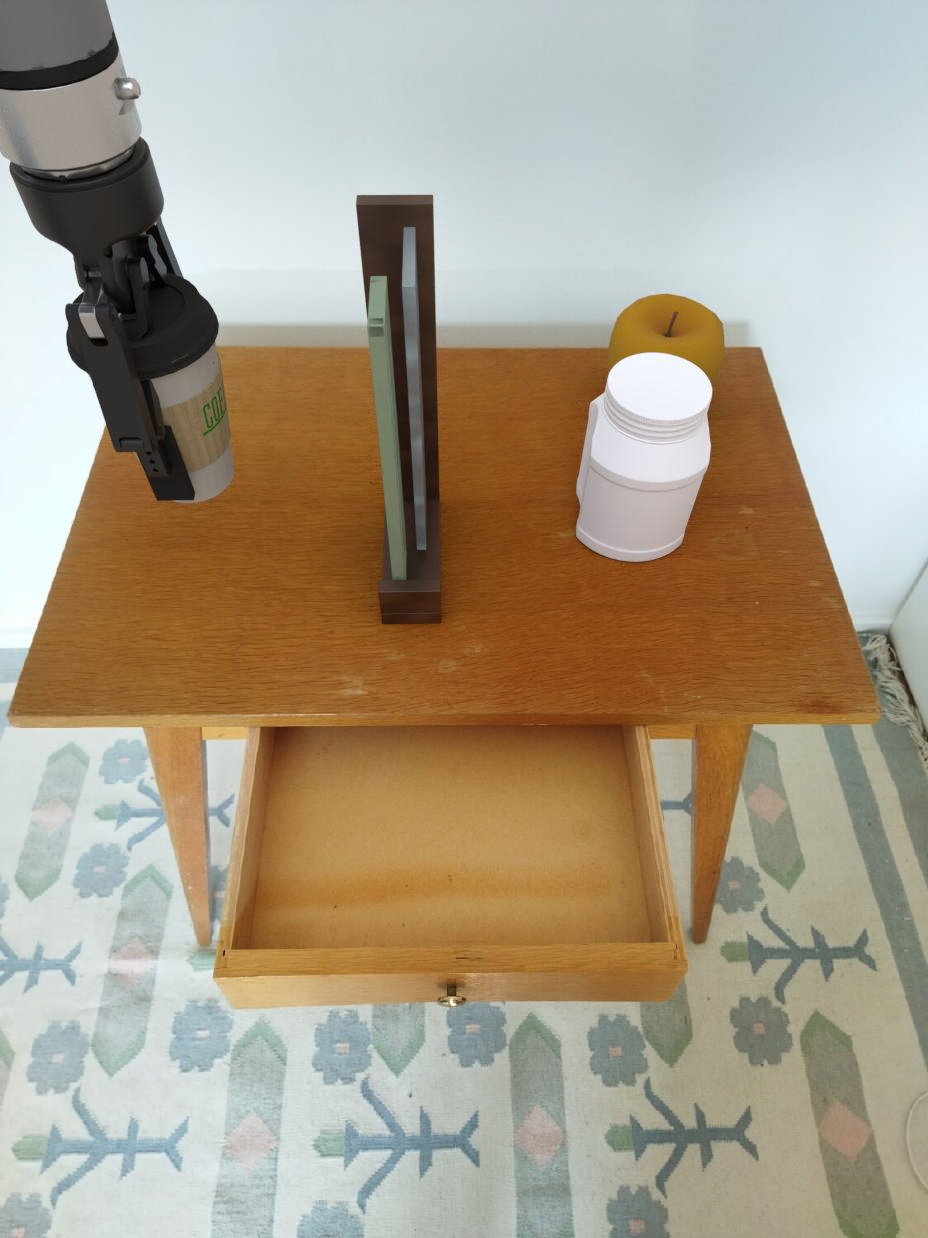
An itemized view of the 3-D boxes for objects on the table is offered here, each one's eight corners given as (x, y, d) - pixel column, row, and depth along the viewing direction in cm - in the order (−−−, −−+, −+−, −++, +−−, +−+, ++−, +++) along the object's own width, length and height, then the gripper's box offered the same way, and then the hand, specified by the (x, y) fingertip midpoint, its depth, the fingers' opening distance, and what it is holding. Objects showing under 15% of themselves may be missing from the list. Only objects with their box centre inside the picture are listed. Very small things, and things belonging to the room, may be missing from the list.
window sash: (394, 595, 68) (367, 325, 47) (395, 549, 71) (370, 275, 50) (406, 594, 68) (384, 325, 47) (406, 548, 71) (386, 275, 50)
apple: (578, 398, 86) (595, 286, 76) (669, 376, 88) (699, 265, 78) (624, 468, 80) (649, 358, 70) (721, 443, 82) (760, 333, 72)
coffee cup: (282, 461, 66) (243, 294, 54) (198, 539, 62) (134, 376, 49) (192, 417, 69) (135, 249, 57) (105, 487, 64) (22, 321, 52)
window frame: (382, 624, 69) (344, 324, 45) (386, 502, 77) (356, 194, 54) (441, 623, 69) (434, 324, 46) (439, 501, 77) (433, 193, 54)
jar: (683, 566, 73) (728, 438, 61) (575, 558, 73) (599, 430, 61) (675, 474, 80) (714, 342, 67) (576, 468, 80) (597, 335, 68)
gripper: (100, 255, 39) (215, 558, 57) (178, 63, 51) (252, 363, 70) (-60, 256, 39) (106, 560, 57) (57, 63, 51) (163, 364, 70)
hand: (186, 452), depth 63 cm, fingers closed on coffee cup, 9 cm apart
